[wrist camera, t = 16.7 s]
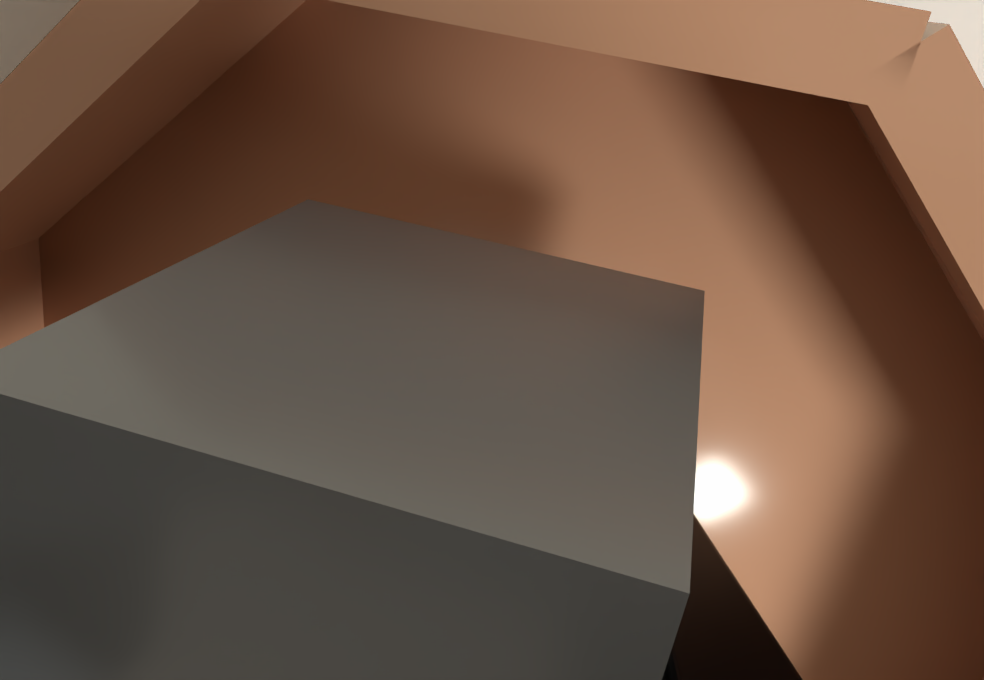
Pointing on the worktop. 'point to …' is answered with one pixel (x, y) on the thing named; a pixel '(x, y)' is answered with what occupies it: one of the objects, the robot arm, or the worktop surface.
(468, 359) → the matte grey cube
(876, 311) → the bowl
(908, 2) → the worktop surface
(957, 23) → the worktop surface
